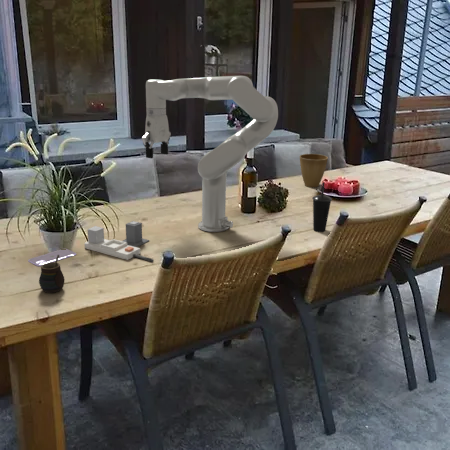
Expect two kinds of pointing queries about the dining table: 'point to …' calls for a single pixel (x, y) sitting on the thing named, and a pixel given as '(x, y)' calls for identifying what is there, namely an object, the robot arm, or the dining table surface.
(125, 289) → the dining table surface
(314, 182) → the plant pot
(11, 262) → the dining table surface
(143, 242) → the mat
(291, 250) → the dining table surface
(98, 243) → the power strip
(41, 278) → the mate gourd
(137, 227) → the block
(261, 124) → the robot arm
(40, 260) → the mobile phone
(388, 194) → the dining table surface
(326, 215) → the drinking cup
